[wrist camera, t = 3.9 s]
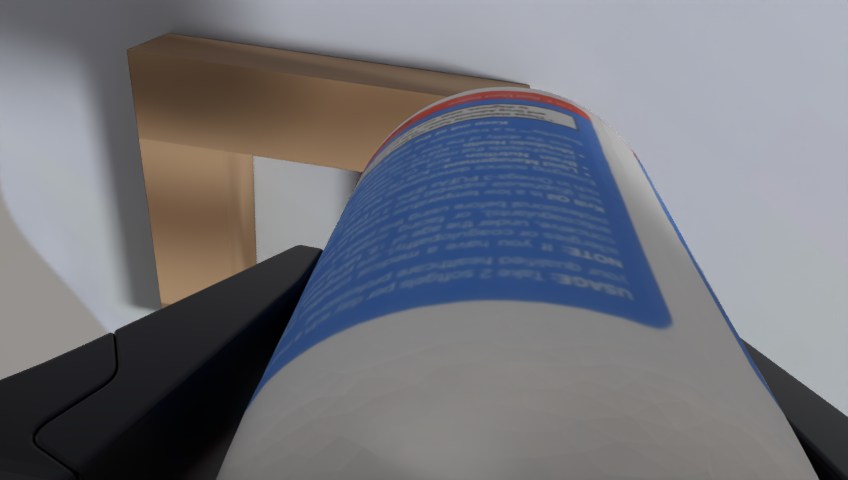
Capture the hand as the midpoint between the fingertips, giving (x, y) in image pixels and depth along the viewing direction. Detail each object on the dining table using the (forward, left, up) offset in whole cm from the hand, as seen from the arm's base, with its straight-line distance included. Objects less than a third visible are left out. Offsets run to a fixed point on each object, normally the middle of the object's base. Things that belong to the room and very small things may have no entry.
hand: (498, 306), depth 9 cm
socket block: (-6, +5, -12) cm, 14 cm away
